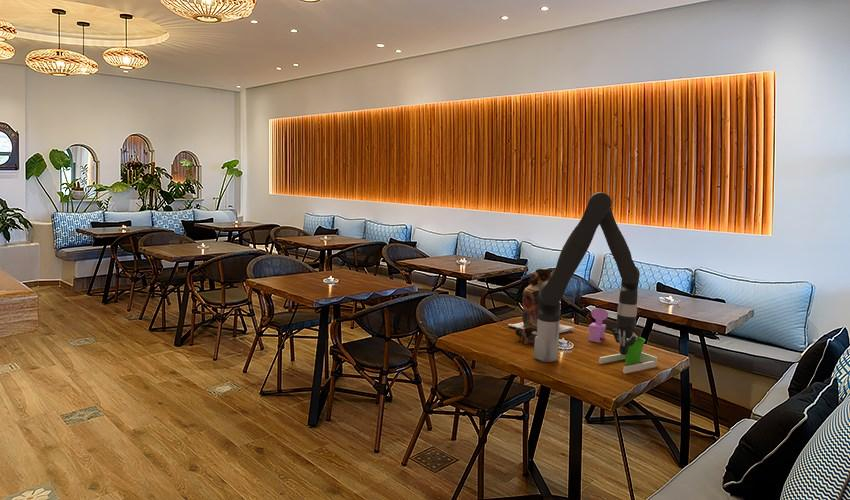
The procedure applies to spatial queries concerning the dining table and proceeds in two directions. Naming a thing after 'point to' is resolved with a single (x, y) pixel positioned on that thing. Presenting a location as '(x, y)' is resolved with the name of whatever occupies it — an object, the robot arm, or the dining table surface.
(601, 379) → the dining table surface
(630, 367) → the bay
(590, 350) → the dining table surface
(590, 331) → the toy chair
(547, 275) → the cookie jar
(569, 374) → the dining table surface
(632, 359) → the cup
